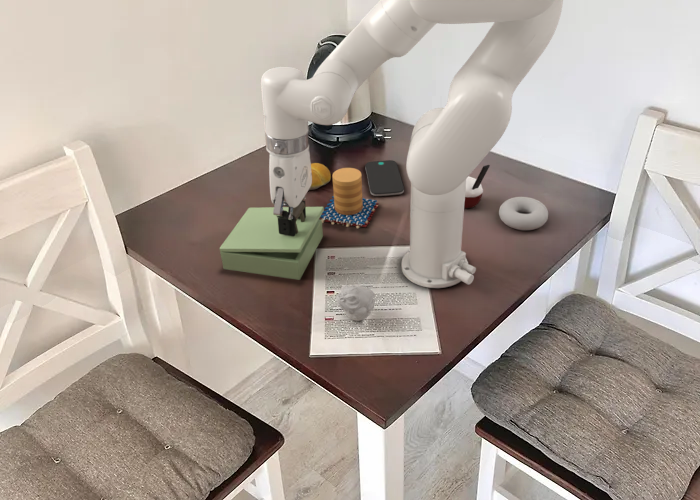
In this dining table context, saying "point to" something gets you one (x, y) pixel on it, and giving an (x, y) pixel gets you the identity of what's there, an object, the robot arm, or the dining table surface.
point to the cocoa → (474, 189)
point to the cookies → (347, 191)
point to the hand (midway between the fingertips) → (292, 225)
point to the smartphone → (384, 178)
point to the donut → (516, 220)
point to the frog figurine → (356, 301)
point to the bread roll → (319, 175)
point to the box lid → (270, 231)
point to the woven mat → (358, 218)
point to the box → (275, 259)
